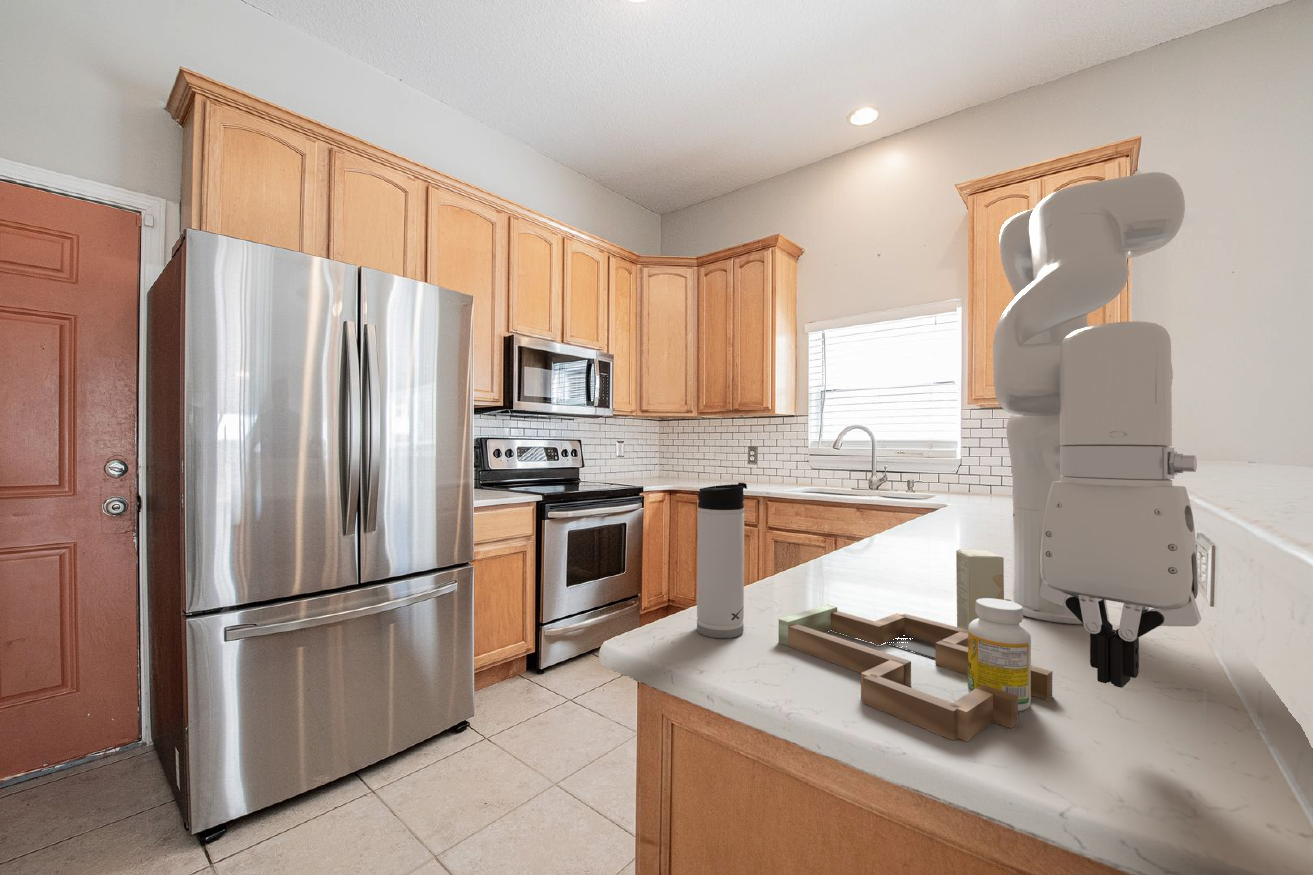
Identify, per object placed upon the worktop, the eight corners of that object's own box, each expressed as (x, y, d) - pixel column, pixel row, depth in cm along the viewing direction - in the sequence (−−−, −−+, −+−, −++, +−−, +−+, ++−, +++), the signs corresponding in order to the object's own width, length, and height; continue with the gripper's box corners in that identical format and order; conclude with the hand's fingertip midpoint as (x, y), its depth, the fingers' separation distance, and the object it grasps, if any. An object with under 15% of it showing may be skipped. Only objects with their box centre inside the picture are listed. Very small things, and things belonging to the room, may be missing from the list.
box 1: (853, 617, 81) (853, 596, 81) (1072, 679, 60) (1072, 652, 60) (744, 653, 67) (744, 628, 67) (981, 752, 46) (981, 715, 46)
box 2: (1005, 644, 70) (1005, 557, 71) (968, 641, 71) (968, 555, 71) (989, 630, 76) (989, 549, 76) (955, 628, 76) (955, 548, 77)
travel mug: (749, 639, 72) (750, 484, 72) (698, 638, 72) (699, 484, 72) (742, 623, 78) (743, 481, 78) (695, 623, 78) (696, 481, 78)
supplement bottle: (1022, 718, 51) (1022, 615, 52) (959, 699, 55) (960, 602, 55) (1037, 700, 55) (1037, 604, 55) (977, 683, 59) (977, 592, 59)
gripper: (1243, 470, 45) (1246, 701, 44) (1030, 465, 56) (1030, 647, 56) (1229, 471, 40) (1232, 729, 39) (1000, 465, 52) (1000, 663, 51)
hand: (1114, 680), depth 48 cm, fingers closed
